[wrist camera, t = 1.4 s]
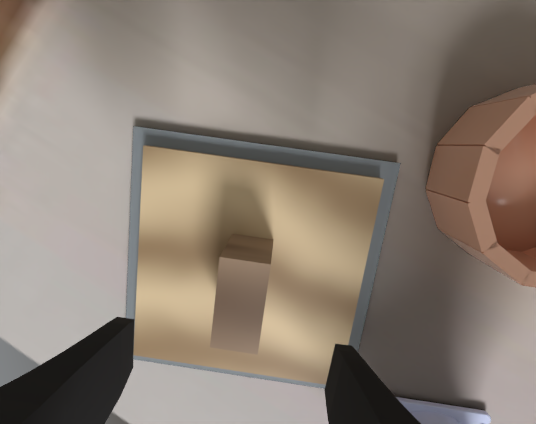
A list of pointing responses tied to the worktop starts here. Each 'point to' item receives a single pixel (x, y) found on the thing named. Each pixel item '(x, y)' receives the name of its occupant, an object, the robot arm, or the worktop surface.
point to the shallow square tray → (272, 155)
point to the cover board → (298, 263)
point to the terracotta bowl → (490, 183)
